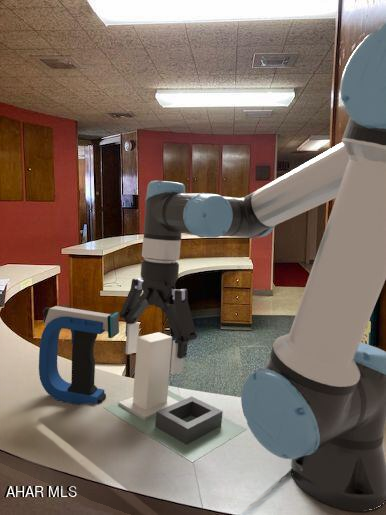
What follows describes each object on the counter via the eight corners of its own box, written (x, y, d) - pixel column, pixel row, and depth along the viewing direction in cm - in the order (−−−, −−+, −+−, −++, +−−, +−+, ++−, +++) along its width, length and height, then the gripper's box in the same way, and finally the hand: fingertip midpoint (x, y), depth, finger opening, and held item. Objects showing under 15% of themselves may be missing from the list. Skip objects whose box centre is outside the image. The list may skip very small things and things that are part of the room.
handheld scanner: (107, 411, 84) (113, 316, 82) (35, 398, 87) (40, 306, 85) (115, 401, 89) (122, 311, 87) (47, 389, 92) (51, 302, 90)
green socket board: (246, 433, 80) (248, 414, 80) (191, 468, 68) (193, 445, 68) (160, 390, 96) (161, 374, 95) (103, 412, 84) (104, 393, 83)
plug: (167, 401, 87) (172, 337, 86) (145, 410, 83) (150, 342, 81) (154, 394, 90) (158, 332, 88) (132, 402, 85) (137, 337, 84)
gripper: (221, 268, 78) (211, 377, 80) (134, 251, 94) (127, 342, 96) (195, 270, 72) (185, 387, 74) (107, 252, 88) (101, 348, 91)
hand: (152, 362), depth 85 cm, fingers open, 13 cm apart
